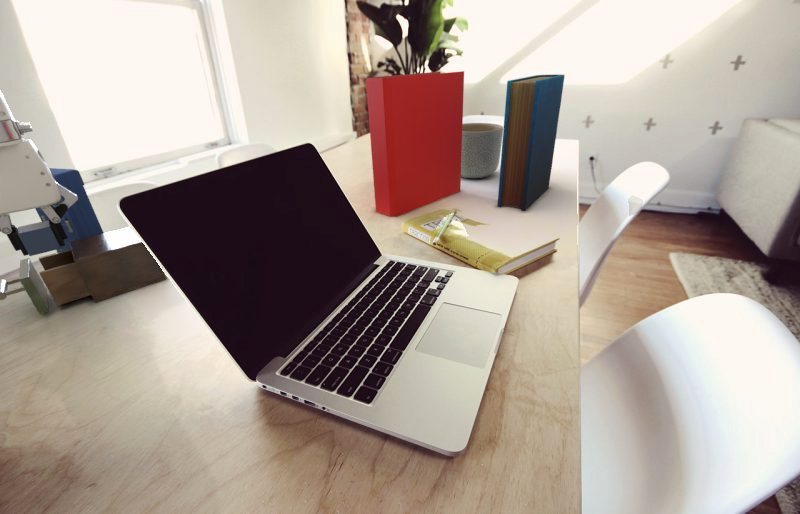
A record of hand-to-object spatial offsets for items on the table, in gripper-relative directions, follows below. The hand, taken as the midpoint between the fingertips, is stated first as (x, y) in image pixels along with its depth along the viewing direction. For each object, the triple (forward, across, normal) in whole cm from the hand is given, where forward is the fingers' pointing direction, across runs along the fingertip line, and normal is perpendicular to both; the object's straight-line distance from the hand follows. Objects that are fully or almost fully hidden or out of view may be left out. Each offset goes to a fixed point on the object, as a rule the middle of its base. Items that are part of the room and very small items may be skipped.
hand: (44, 247), depth 64 cm
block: (0, 0, 0) cm, 0 cm away
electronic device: (+10, -4, -12) cm, 17 cm away
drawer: (+9, +1, 0) cm, 9 cm away
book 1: (+10, -78, +9) cm, 79 cm away
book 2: (+10, -101, +27) cm, 105 cm away
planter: (+10, -108, +4) cm, 109 cm away
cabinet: (+10, -9, 0) cm, 13 cm away
